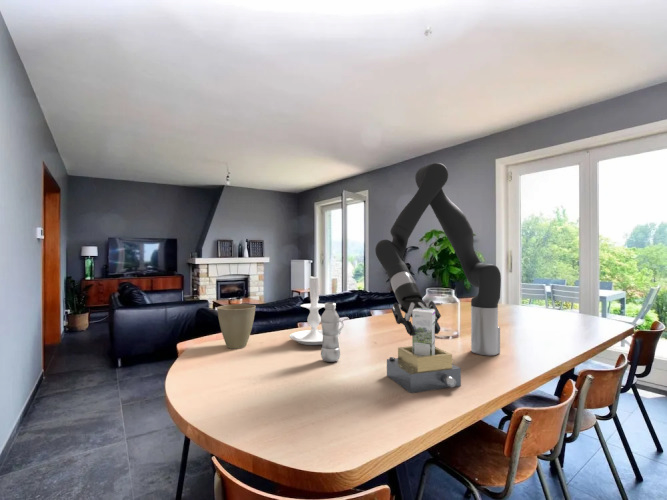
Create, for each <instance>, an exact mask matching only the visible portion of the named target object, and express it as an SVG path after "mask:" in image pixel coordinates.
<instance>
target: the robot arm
mask: <svg viewBox="0 0 667 500" xmlns="http://www.w3.org/2000/svg"><path fill="white" fill-rule="evenodd" d="M448 178H449V171H448V169H447V167H446V165H444V164H443V163H441V162H431V163H429V164H427V165H424V166H423V167H420V168H418V170H417V171H416V173H415V184H416V186H417V188H418V190H417V191H416V193H415V194H414V196H413V197H412V198H411V199H410V201H409V202H408V203H407V204H406V205H405V207H404V208H403V209H402V210H401V212H400V213H399V214H398V216H397V218H396V219H395V221H394V223H393V225H392V226H391V229H390V234H391V235H390V236H391V237H392V240H389V239H381V240H380V241H378V242H377V244H376V246H375V256H376V258H377V259H378V261H379V263H380V264H381V266H382V267H383V269H384V270H385V272H386V275H387V277H388V279H389V282H390V284H391V288H392V291H393V293H394V296H395V299H396V300H397V302H394V303H393V305H392V306H391V311H392V314H393V316H394V319H395V320H394V321H395V322H396V324H397V325H401V324H402V325H403V326H404V328H405V330H406V333H407V334H408V335H409V336H410V337H412V336H413V335H414V334H415V330H414V328H413V326H412V321H411V320H410V319H411V318H412V311H413V310H414V309H415V308H425V309H435V335H438V334H439V333H441V332H440V331H441V326H440V324H439V322H438V321H439V319H440V318H441V317H442V315H441V313H440V311H439V309H438V308H437V306H436V304H435V302H434V301H432V300H431V301H430V302H426V301H424V299H423V296H422V293H421V291H420V289H419V286H418V285H417V283H416V280H415V278H414V277H413V276H412V274H411V273H410V272H411V271H410V270H409V268H408V266H407V264H406V263H405V262H404V261H403V258H404V256H405V253H406V250H407V246H408V243H409V238H410V237H411V235H412V233H413V231H414V230H415V228H416V226H417V224H418V223H419V221H420V219H421V217H422V215H423V214H424V213H425V211H426V210H427V208H428V206H430V208H431V209H432V212H433V213H434V215H435V217H436V219H437V220H438V223H439V224H440V226H441V228H442V231H443V232H444V234H445V236H446V237H447V239H448V242H449V243H450V245H451V247H452V248H453V251H454V252H455V254H456V257H457V258H458V261H459V263H460V265H461V268H462V271H463V273H464V275H465V277H466V280H467V282H468V283H469V284H470V285H471V286H473V287H475V288H478V293H477V295H476V296H474V297H472V298H471V300H470V307H471V308H470V311H471V312H470V316H471V317H470V322H471V323H470V326H471V327H470V328H471V329H470V330H471V331H470V333H471V334H470V335H471V338H470V341H471V343H470V344H471V345H470V346H471V347H470V348H471V353H474V354H477V355H480V356H481V355H482V356H497V355H498V354H501V328H500V327H499V311H498V310H499V302H500V300H501V288H502V287H501V286H502V275H501V272H500V268H499V267H498V266H497V265H495V264H492V263H482V261H480V259H479V258H478V257H479V256H477V253H476V252H475V251H476V250H475V248H474V231H473V227H472V226H471V224H470V222H469V220H468V218H467V217H466V214H465V213H464V212H463V211H462V210H461V209H460V208H459V207H458V206H457V205H456V204H455V203H454V202H452V200H450V198H449V197H448V196H447V195H446V192H445V191H444V188H443V187H444V186H445V185H446V183H447V182H448ZM402 312H403V313H405V315H404V316H403V314H402Z"/></svg>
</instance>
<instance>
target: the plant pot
mask: <svg viewBox="0 0 667 500" xmlns="http://www.w3.org/2000/svg"><path fill="white" fill-rule="evenodd" d="M216 310H217V317H218V322H219V327H220V331H221V335H222V337H223V340H224V342H225V345H226V348H227V349H233V350H234V349H235V350H237V349H238V350H239V349H243V348H245V347H246V346H247V344H248V342H249V339H250V337H251V336H250V335H251V332H252V329H253V326H254V325H253V324H254V320H255V315H256V305H254V304H248V303H247V304H245V303H243V304H242V303H240V304H236V303H235V304H225V305H220V306H217V307H216Z"/></svg>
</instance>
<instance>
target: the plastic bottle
mask: <svg viewBox="0 0 667 500" xmlns="http://www.w3.org/2000/svg"><path fill="white" fill-rule="evenodd" d="M324 304H325V307H324V309H325V310H324V311H323V313H322V315H320V317H321V322H320V324H321V325H320V326H321V330H322V334H323V340H322V344H321V349H320V350H321V351H320V356H321V359H322V361H324V362H327V363H333V362H338V361H339V360H340V357H341V349H340V345H339V344H340V343H339V337H338V329H340V327H339V326H340V322H339V321H340V320H341V318H340V316H339V314H338V312H337V310H336V309H337V307H336V306H337V304H336V302H325V303H324Z"/></svg>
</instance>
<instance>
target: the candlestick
mask: <svg viewBox="0 0 667 500" xmlns="http://www.w3.org/2000/svg"><path fill="white" fill-rule="evenodd" d="M319 282H320V278H319V277H317V275H314V276H312V275H311V276H309V299H310V303H303V304H300V307H302V308H306V309H308V310H309V314H308V316H307V319H306V320H307V324H308V325H309V326H310V327H311V329H305V330H299V331H295V332H292V333H290V334H289V338H290V339H291V340H293V341H294V342H296V343H299V344H301V345H306V346H322V340H323V334H322V329H318V326H320V324H321V315H320V314H319V310H320V309H322V308H325V303H319V301H320V298H319V297H320V295H319V294H320V291H319V289H320V285H319V284H320V283H319ZM344 321H345V319H344V318H341V319H340V321H339V323H340V324H341V327H339V329H338V338H339V336H340V334H341V331H343V328H344Z"/></svg>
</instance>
